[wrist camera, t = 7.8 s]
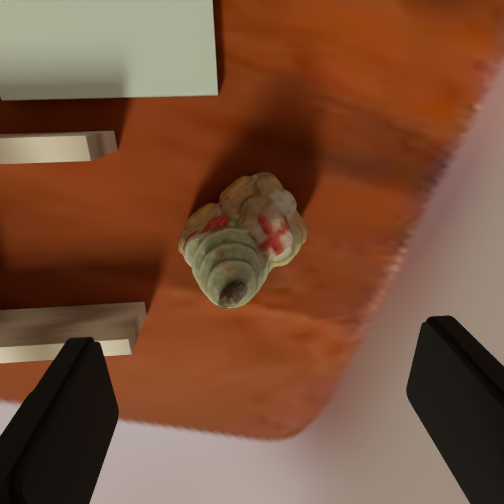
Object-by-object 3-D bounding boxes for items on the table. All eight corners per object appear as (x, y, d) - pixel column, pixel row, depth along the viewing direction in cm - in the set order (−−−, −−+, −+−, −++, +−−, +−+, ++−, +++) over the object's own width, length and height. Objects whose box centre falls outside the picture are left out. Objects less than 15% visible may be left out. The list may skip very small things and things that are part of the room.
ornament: (256, 151, 22) (278, 180, 12) (312, 218, 24) (367, 286, 14) (170, 230, 23) (134, 307, 14) (230, 286, 25) (233, 385, 16)
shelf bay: (114, 130, 20) (85, 135, 16) (146, 315, 26) (131, 354, 22) (-87, 136, 20) (-170, 143, 16) (-12, 324, 25) (-58, 367, 21)
